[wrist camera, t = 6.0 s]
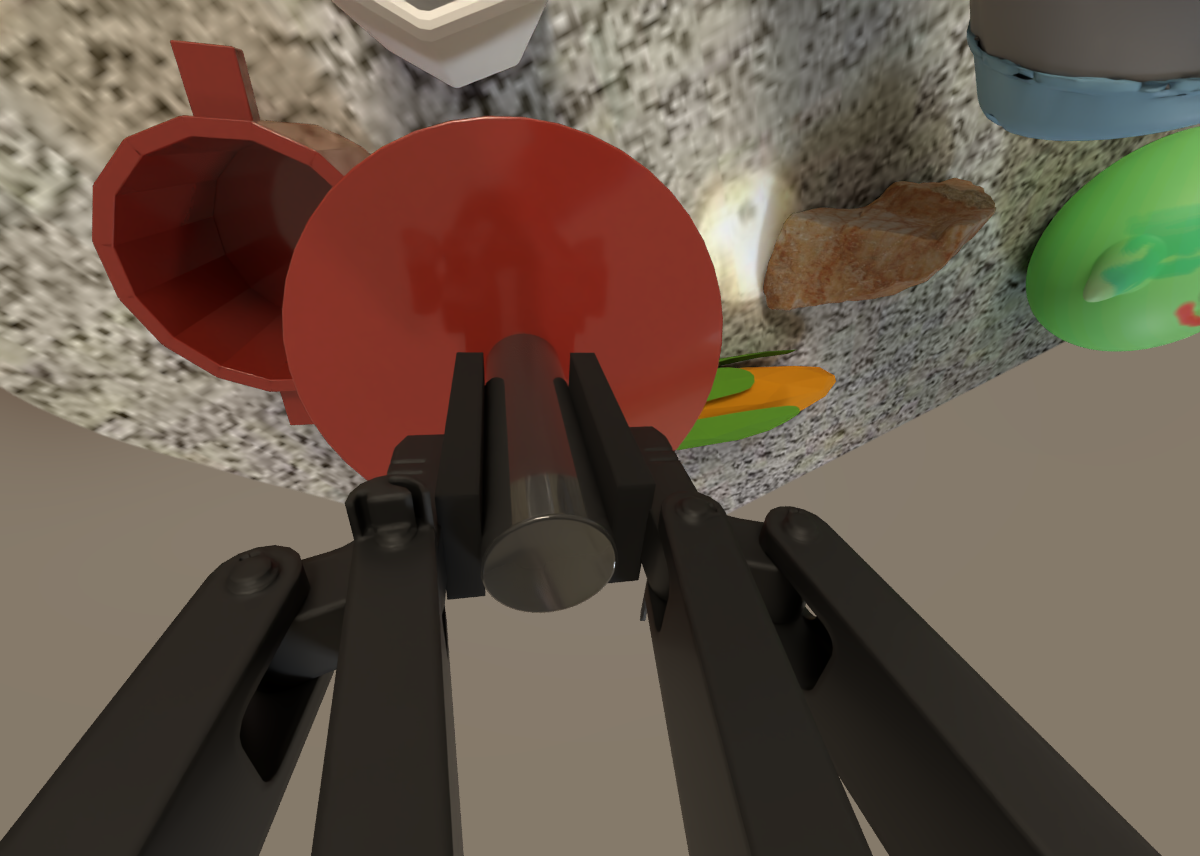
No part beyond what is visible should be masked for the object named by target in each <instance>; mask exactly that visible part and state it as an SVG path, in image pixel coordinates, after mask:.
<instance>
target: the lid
mask: <svg viewBox="0 0 1200 856" xmlns="http://www.w3.org/2000/svg"><path fill="white" fill-rule="evenodd" d="M282 324H283V342H284V346H285V351H286V356H287V361H288V366H289V370H290V373H291V376H292V379H293V381H294V384H295V387H296V390H297V392H298V395H299V397H300V399H301V401H302V403H303V405H304V407H305V409H306V411H307V413H308V414H309V416H310V418H311V420H312V422H313V423H314V424H315V426H316V427H317V429H318V430H319V431H320V433H321V434H322V436H323V437H324V438H325V440H326V441H327V443H328V444H329V445H330V446H331V447H332V448H333V449H334V450H335V451H336V452H337V454H338V455H339V456H340V457H341V458H342V459H343V460H344V461H345V462H346V463H347V464H348V465H349V466H351V467H352V468H353V469H354V470H355V471H356V472H358V473H359V474H360V475H361V476H362V477H364V478H365V479H366V480H371V479H373V478H376V477H380V476H384V475H387V471H388V468H389V464H390V461H391V458H392V455H393V451H394V448H395V447H396V446H397V445H398V444H399V443H400V442H401V441H402V440H403V439H404V438H405V437H406V436H407V435H437V434H444V431H445V425H446V418H447V412H448V405H449V399H450V392H451V386H452V379H453V373H454V366H455V360H456V353H457V352H483V357H484V377H485V405H484V451H483V497H482V540H481V551H480V575H481V580H482V582H483V585H484V586H485V588H486V590H487V591H488V593H489V594H490V595H491V596H492V597H493V598H494V599H495V600H497V601H498V602H500V603H501V604H503V605H505V606H507V607H509V608H512V609H515V610H519V611H524V612H532V613H545V612H554V611H559V610H563V609H567V608H570V607H573V606H576V605H578V604H580V603H582V602H584V601H586V600H588V599H589V598H591V597H592V596H594V595H595V594H597V593H598V592H599V591H600V590H601V589H602V588H603V587H604V586H605V585H606V584H607V583H608V581H609V580H610V579H611V577H612V575H613V573H614V571H615V568H616V565H617V560H618V549H617V545H616V542H615V538H614V535H613V532H612V528H611V525H610V522H609V519H608V515H607V512H606V509H605V505H604V502H603V499H602V496H601V492H600V489H599V486H598V483H597V479H596V476H595V473H594V469H593V466H592V463H591V460H590V456H589V453H588V450H587V446H586V443H585V440H584V437H583V433H582V430H581V427H580V424H579V420H578V417H577V414H576V410H575V407H574V404H573V401H572V397H571V394H570V391H569V387H568V384H569V366H570V353H595V355H596V357H597V359H598V361H599V364H600V366H601V368H602V370H603V372H604V374H605V376H606V379H607V381H608V383H609V385H610V387H611V389H612V391H613V393H614V396H615V398H616V400H617V402H618V404H619V406H620V408H621V411H622V413H623V415H624V417H625V419H626V421H627V423H628V426H629V427H645V426H653V427H654V428H655V429H657V430H658V431H659V432H661V433H662V434H663V435H665V436H666V438H667V439H668V441H669V443H670V445H671V446H672V448H673V451H674V452H675V450H676V449H677V448H678V447H679V446H680V444H681V443H682V442H683V440H684V439H685V438H686V436H687V435H688V434H689V432H690V431H691V429H692V428H693V426H694V424H695V422H696V421H697V419H698V417H699V416H700V414H701V412H702V410H703V408H704V406H705V403H706V401H707V399H708V396H709V394H710V392H711V389H712V386H713V383H714V379H715V376H716V372H717V369H718V364H719V358H720V352H721V346H722V326H723V316H722V306H721V296H720V290H719V286H718V281H717V277H716V273H715V269H714V265H713V263H712V260H711V258H710V255H709V253H708V250H707V248H706V245H705V242H704V240H703V238H702V237H701V235H700V233H699V231H698V230H697V228H696V226H695V224H694V222H693V221H692V219H691V217H690V215H689V214H688V213H687V212H686V210H685V209H684V208H683V206H682V205H681V204H680V202H679V201H678V200H677V199H676V197H675V196H674V195H673V193H672V192H671V191H670V190H669V189H668V188H667V187H666V186H665V185H664V184H663V183H662V182H661V181H660V180H659V179H658V178H657V177H656V176H655V175H654V174H653V173H651V172H650V171H649V170H648V169H647V168H646V167H644V166H643V165H641V164H640V163H639V162H637V161H636V160H634V159H633V158H632V157H630V156H629V155H628V154H626V153H625V152H623V151H622V150H620V149H618V148H616V147H614V146H612V145H610V144H609V143H607V142H605V141H603V140H601V139H599V138H597V137H595V136H593V135H591V134H588V133H585V132H582V131H579V130H576V129H574V128H571V127H568V126H565V125H562V124H559V123H554V122H548V121H543V120H537V119H532V118H526V117H510V116H482V117H474V118H466V119H458V120H450V121H447V122H443V123H440V124H437V125H433V126H430V127H426V128H423V129H420V130H416V131H414V132H411V133H409V134H407V135H405V136H403V137H401V138H399V139H397V140H395V141H393V142H391V143H389V144H387V145H384V146H382V147H381V148H379V149H378V150H377V151H375V152H374V153H372V154H371V155H369V156H368V157H367V158H365V159H364V160H362V161H361V162H360V163H358V164H357V165H355V166H354V167H353V168H352V169H351V170H350V171H349V172H348V173H347V174H346V175H345V176H344V177H343V178H341V179H340V180H339V181H338V182H337V183H336V184H335V185H334V186H333V187H332V188H331V189H330V190H329V191H328V193H327V194H326V195H325V197H324V198H323V200H322V201H321V202H320V204H319V205H318V207H317V208H316V209H315V211H314V212H313V214H312V215H311V216H310V218H309V219H308V221H307V223H306V226H305V228H304V230H303V232H302V234H301V236H300V238H299V240H298V242H297V244H296V246H295V248H294V252H293V255H292V258H291V262H290V265H289V269H288V272H287V276H286V279H285V288H284V296H283V305H282Z"/></svg>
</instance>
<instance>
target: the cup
mask: <svg viewBox="0 0 1200 856" xmlns="http://www.w3.org/2000/svg"><path fill="white" fill-rule="evenodd" d="M331 1H332V2H334V3H335V4H336V5H337V6H338V7H339V8H340V9H342V10H343V11H344V12H345V13H346V14H347V15H348V16H350V17H351V18H352V19H353V20H354V21H355V22H357V23H358V24H359V25H360V26H361V27H362V28H363V29H365V30H366V31H367V32H368V33H369V34H370V35H371V36H373V37H374V38H375V39H376V40H377V41H378V42H379V43H381V44H382V45H383V46H384V47H385V48H386V49H387V50H389V51H390V52H392V53H394V54H396V55H397V56H399V57H401V58H403V59H404V60H406V61H408V62H410V63H411V64H413V65H415V66H417V67H418V68H420V69H422V70H424V71H425V72H427V73H429V74H431V75H432V76H434V77H436V78H438V79H439V80H441V81H443V82H445V83H446V84H448V85H450V86H452V87H453V88H460V87H463V86H465V85H468V84H470V83H473V82H475V81H478V80H480V79H483V78H485V77H488V76H491V75H493V74H496V73H498V72H501V71H503V70H506V69H508V68H511V67H513V66H516V65H517V64H518V63H519V62H520V60H521V58H522V56H523V53H524V51H525V49H526V47H527V45H528V43H529V40H530V38H531V36H532V34H533V32H534V30H535V27H536V25H537V23H538V21H539V19H540V17H541V14H542V12H543V10H544V8H545V6H546V4H547V2H548V0H331Z"/></svg>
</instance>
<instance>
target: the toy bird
mask: <svg viewBox="0 0 1200 856" xmlns="http://www.w3.org/2000/svg"><path fill="white" fill-rule="evenodd" d="M1026 294H1027V299H1028V302H1029V305H1030V308H1031V310H1032V312H1033V314H1034V315H1035V317H1036V318H1037V320H1038V321H1039V322H1040V323H1041V324H1042V325H1043V326H1044V327H1045V328H1046V329H1047V330H1048V331H1049V332H1051V333H1052V334H1054V335H1055V336H1057V337H1058V338H1060V339H1062V340H1064V341H1066V342H1069V343H1071V344H1074V345H1077V346H1080V347H1084V348H1088V349H1093V350H1101V351H1133V350H1141V349H1147V348H1153V347H1157V346H1162V345H1165V344H1169V343H1172V342H1175V341H1178V340H1181V339H1184V338H1186V337H1189V336H1192V335H1194V334H1196V333H1199V332H1200V126H1199V127H1195V128H1191V129H1187V130H1184V131H1180V132H1177V133H1174V134H1171V135H1169V136H1166V137H1163V138H1161V139H1158V140H1156V141H1154V142H1152V143H1149V144H1147V145H1145V146H1143V147H1141V148H1139V149H1137V150H1135V151H1134V152H1132V153H1130V154H1128V155H1127V156H1125V157H1123V158H1121V159H1120V160H1118V161H1117V162H1115V163H1114V164H1112V165H1111V166H1109V167H1108V168H1106V169H1105V170H1103V171H1102V172H1101V173H1099V174H1098V175H1097V176H1095V177H1094V178H1093V179H1092V180H1090V181H1089V182H1088V183H1087V184H1086V185H1084V186H1083V187H1082V188H1081V189H1080V190H1079V191H1078V192H1077V193H1076V194H1075V195H1073V196H1072V197H1071V198H1070V199H1069V201H1068V202H1067V203H1066V204H1065V205H1064V206H1063V207H1062V208H1061V209H1060V210H1059V212H1058V213H1057V214H1056V215H1055V217H1054V218H1053V219H1052V221H1051V222H1050V223H1049V225H1048V226H1047V228H1046V229H1045V231H1044V232H1043V234H1042V236H1041V237H1040V239H1039V241H1038V243H1037V245H1036V247H1035V249H1034V251H1033V254H1032V256H1031V259H1030V262H1029V265H1028V270H1027V275H1026Z"/></svg>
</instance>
